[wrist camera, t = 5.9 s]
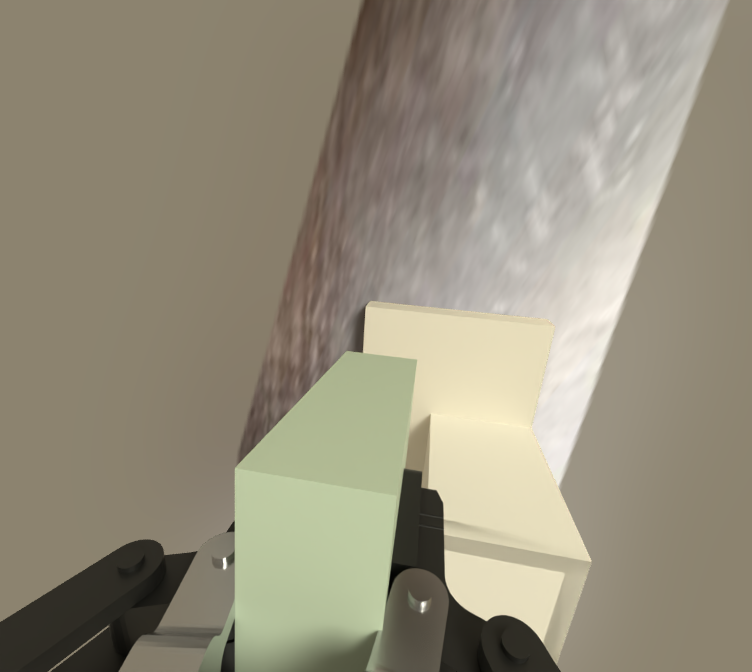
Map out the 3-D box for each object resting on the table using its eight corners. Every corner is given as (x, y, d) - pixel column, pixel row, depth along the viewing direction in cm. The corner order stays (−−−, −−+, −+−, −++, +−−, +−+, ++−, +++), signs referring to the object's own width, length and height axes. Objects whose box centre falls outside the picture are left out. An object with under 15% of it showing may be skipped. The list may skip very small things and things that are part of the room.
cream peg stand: (370, 301, 30) (317, 365, 17) (547, 319, 28) (644, 407, 15) (358, 479, 36) (312, 632, 22) (505, 504, 34) (548, 686, 21)
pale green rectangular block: (327, 549, 18) (223, 833, 9) (339, 350, 15) (219, 465, 7) (400, 563, 17) (368, 879, 8) (424, 360, 15) (413, 498, 6)
